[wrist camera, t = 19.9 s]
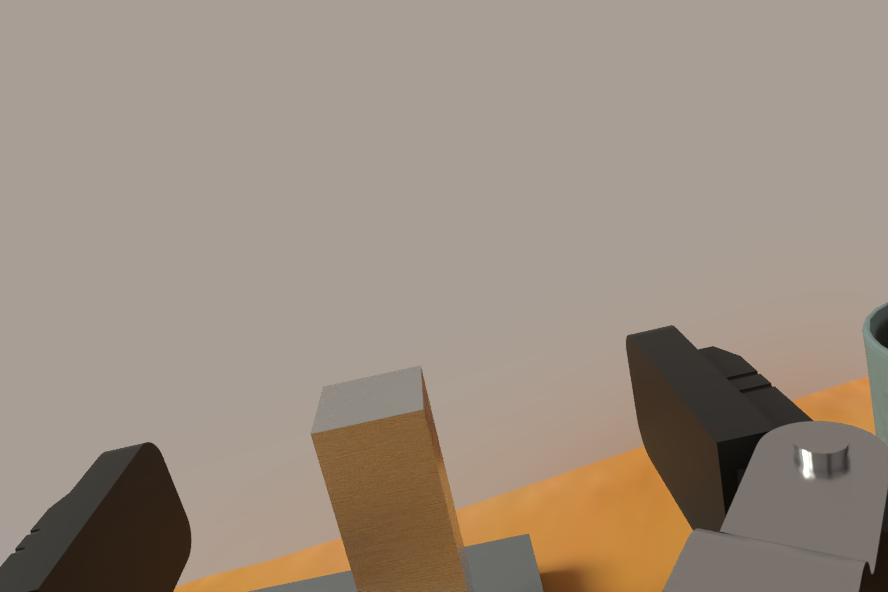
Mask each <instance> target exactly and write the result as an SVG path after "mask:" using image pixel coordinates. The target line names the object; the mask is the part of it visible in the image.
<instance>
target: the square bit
mask: <svg viewBox="0 0 888 592" xmlns="http://www.w3.org/2000/svg"><path fill="white" fill-rule="evenodd" d="M311 436H312V439H313V443H314V447H315V450H316V453H317V457H318V460H319V463H320V467H321V470H322V473H323V477H324V480H325V483H326V487H327V490H328V494H329V497H330V500H331V504H332V507H333V510H334V513H335V517H336V520H337V524H338V527H339V531H340V534H341V537H342V541H343V544H344V547H345V551H346V554H347V557H348V561H349V564H350V568H351V571H352V574H353V578H354V581H355V584H356V588H357V591H358V592H475V591H474V587H473V583H472V578H471V574H470V570H469V566H468V562H467V557H466V553H465V549H464V545H463V541H462V536H461V532H460V528H459V524H458V520H457V515H456V511H455V507H454V503H453V499H452V495H451V491H450V486H449V482H448V478H447V474H446V469H445V466H444V461H443V457H442V453H441V448H440V444H439V440H438V436H437V432H436V428H435V423H434V419H433V415H432V411H431V406H430V402H429V398H428V394H427V390H426V386H425V381H424V377H423V373H422V369H421V366H417V367H413V368H408V369H403V370H399V371H394V372H390V373H385V374H381V375H376V376H371V377H367V378H362V379H358V380H354V381H348V382H344V383H339V384H335V385H330V386H326V387H323V391H322V394H321V398H320V402H319V405H318V409H317V413H316V416H315V420H314V424H313V428H312V432H311Z"/></svg>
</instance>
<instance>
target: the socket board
mask: <svg viewBox="0 0 888 592" xmlns="http://www.w3.org/2000/svg"><path fill="white" fill-rule="evenodd" d="M464 549H465V553H466V557H467V562H468V566H469V570H470V574H471V578H472V583H473V587H474V591H475V592H544V590H543V587H542V583H541V579H540V575H539V571H538V567H537V563H536V559H535V555H534V551H533V548H532V544H531V540H530V536H529V534H525V535H520V536H515V537H510V538H505V539H501V540H496V541H491V542H486V543H481V544H476V545H472V546H467V547H464ZM249 592H358V591H357V588H356V584H355V581H354V578H353V574H352V571H346V572H341V573H336V574H331V575H326V576H322V577H317V578H312V579H307V580H302V581H297V582H292V583H288V584H283V585H278V586H273V587H268V588H263V589H259V590H254V591H249Z"/></svg>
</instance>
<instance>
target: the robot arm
mask: <svg viewBox="0 0 888 592" xmlns="http://www.w3.org/2000/svg"><path fill="white" fill-rule="evenodd" d="M626 350H627V357H628V363H629V369H630V376H631V381H632V388H633V394H634V401H635V407H636V414H637V420H638V425H639V429H640V433H641V436H642V440H643V443H644V446H645V449H646V451H647V453H648V456H649V458H650V459H651V461H652V463H653V464H654V466H655V468H656V469H657V471H658V473H659V474H660V476H661V478H662V479H663V481H664V483H665V484H666V486H667V488H668V489H669V491H670V493H671V494H672V496H673V498H674V499H675V501H676V503H677V504H678V506H679V508H680V509H681V511H682V513H683V514H684V516H685V518H686V519H687V521H688V523H689V524H690V526H691V528H692V529H693V532H692V533H691V534H690V536H689V538H688V539H687V541H686V543H685V546H684V548H683V550H682V552H681V554H680V556H679V558H678V560H677V562H676V564H675V566H674V568H673V571H672V573H671V575H670V577H669V579H668V581H667V583H666V585H665V587H664V589H663V591H662V592H888V446H887V445H886V444H885V443H884V442H883V441H882V440H881V439H880V438H878V437H877V436H875V435H873V434H872V433H870V432H867V431H865V430H863V429H860V428H857V427H854V426H851V425H846V424H842V423H836V422H826V421H813V420H812V419H811V418H810V417H809V416H807V415H806V414H805V413H804V412H803V411H802V410H801V409H800V408H798V407H797V406H796V405H795V404H794V403H793V402H792V401H790V400H789V399H788V398H787V397H786V396H785V395H784V394H782V393H781V392H780V391H779V390H778V389H777V388H776V387H772V386H771V383H770V382H769V381H768V380H767V379H766V378H764V377H763V376H762V375H761V374H758V373H757V371H756V370H755V369H754V368H753V367H752V366H751V365H750V364H749V363H747V362H746V361H745V360H744V359H743V358H742V357H741V356H739V355H736V354H733V353H730V352H728V351H725V350H722V349H719V348H716V347H713V346H712V347H708V348H703V349H699V350H698V349H696V347H695V346H693V344H692V343H690V341H689V340H687V339H686V338H685V337H684V335H683V334H682V333H680V332H679V331H678V329H676V328H675V327H674V326H672V325H671V326H667V327H662V328H658V329H654V330H649V331H645V332H640V333H636V334H631V335H628V336H627V339H626ZM190 549H191V530H190V525H189V521H188V518H187V516H186V513H185V511H184V508H183V506H182V503H181V501H180V498H179V496H178V493H177V491H176V488H175V486H174V483H173V481H172V478H171V476H170V473H169V471H168V468H167V466H166V463H165V461H164V458H163V456H162V454H161V452H160V450H159V449H158V448H157V447H156V446H155V445H154V444H153V443H150V442H147V443H142V444H138V445H134V446H129V447H125V448H120V449H116V450H111V451H107V452H104V453H102V454H101V455H100V456H99V457H98V459H97V460H96V461H95V462H94V464H93V465H92V466H91V467H90V469H89V470H88V471H87V472H86V473H85V475H84V476H83V477H82V479H81V480H80V481H79V482H78V483H77V484H76V486H75V487H74V488H73V489H72V491H71V492H70V493H69V494H67V495H66V496H65V497H63V498H62V499H61V500H60V501H58V502H57V503H56V504H54V505H53V506H52V507H51V508H49V509H48V510H47V512H46V513H45V514H44V515H43V516H42V518H41V519H40V520H39V521H38V522H37V524H36V525H35V526H34V527H33V528H32V530H31V534H30V535H27V536H26V537H25V538H24V539H23V540H22V542H21V543H20V544H19V545H18V546H17V548H16V553H13V554H11V555H10V556H9V557H8V558H7V560H6V561H5V562H4V563H3V564H2V566H1V567H0V592H173V591H174V589H175V586H176V584H177V582H178V580H179V578H180V576H181V573H182V571H183V569H184V567H185V565H186V563H187V560H188V558H189V555H190Z"/></svg>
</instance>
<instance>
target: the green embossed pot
mask: <svg viewBox="0 0 888 592" xmlns="http://www.w3.org/2000/svg"><path fill="white" fill-rule="evenodd" d="M862 331H863V337H864V343H865V350H866V358H867V365H868V373H869V381H870V389H871V398H872V406H873V414H874V423H875V431H876V436H877V437H878V438H880V439H881V440H882V441H883V442H884V443H885V444H886V445H887V446H888V302H887V303H885V304H883V305H882V306H880V307H878V308H876V309H875V310H874V311H873V312H872V313H871V314H870V315H869V316H867V318H866V320H865V322H864V325H863V330H862Z"/></svg>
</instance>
